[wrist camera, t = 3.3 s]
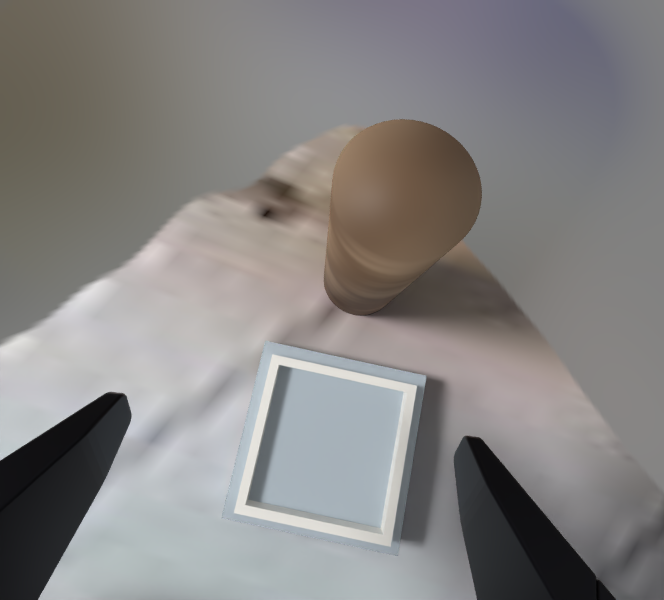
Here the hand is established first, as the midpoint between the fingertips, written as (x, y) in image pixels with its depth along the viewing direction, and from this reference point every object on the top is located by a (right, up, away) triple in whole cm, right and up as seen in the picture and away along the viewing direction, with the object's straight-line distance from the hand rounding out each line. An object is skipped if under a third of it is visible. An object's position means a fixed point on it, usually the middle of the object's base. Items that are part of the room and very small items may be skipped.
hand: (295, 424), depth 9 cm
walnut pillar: (+3, +5, +15) cm, 16 cm away
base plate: (+1, -5, +13) cm, 14 cm away
